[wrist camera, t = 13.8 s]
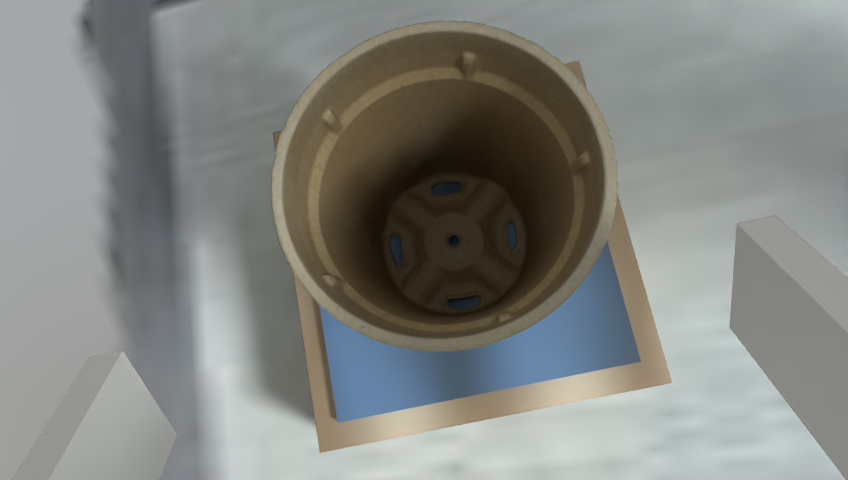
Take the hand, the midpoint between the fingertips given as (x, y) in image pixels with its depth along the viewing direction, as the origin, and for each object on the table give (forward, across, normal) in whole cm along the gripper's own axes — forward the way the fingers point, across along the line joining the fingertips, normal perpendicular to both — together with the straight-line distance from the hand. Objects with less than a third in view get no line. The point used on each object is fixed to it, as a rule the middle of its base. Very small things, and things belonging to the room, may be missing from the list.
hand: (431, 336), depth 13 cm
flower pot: (+11, +1, -5) cm, 12 cm away
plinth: (+14, +1, -8) cm, 16 cm away
